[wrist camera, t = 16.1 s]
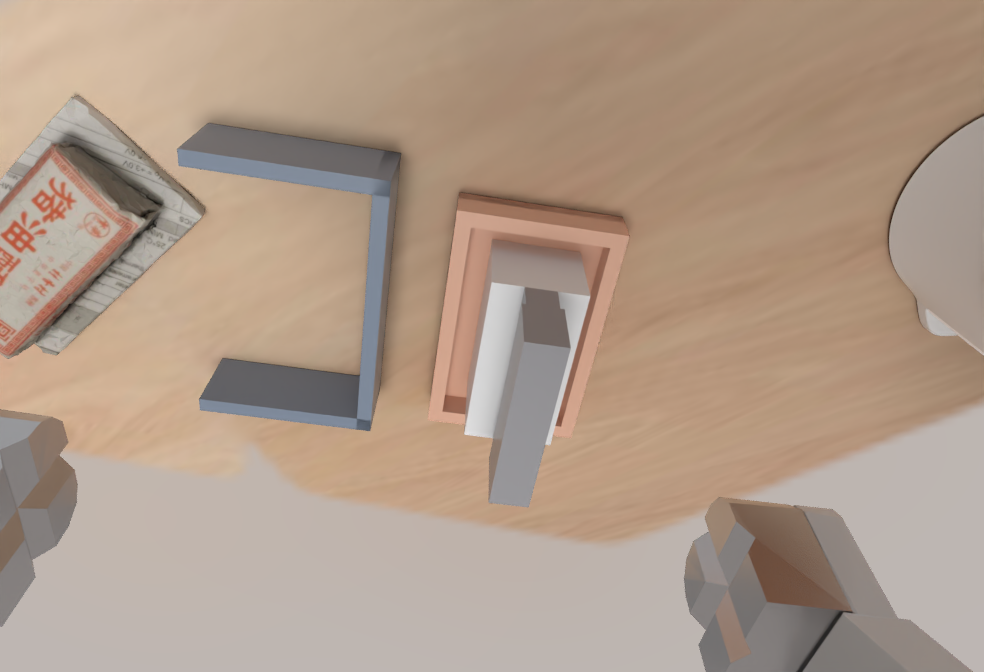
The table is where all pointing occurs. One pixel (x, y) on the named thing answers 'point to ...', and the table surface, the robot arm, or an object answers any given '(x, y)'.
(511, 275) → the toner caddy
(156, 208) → the packaged product
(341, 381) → the slate bay
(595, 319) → the terracotta tray
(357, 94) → the table surface
